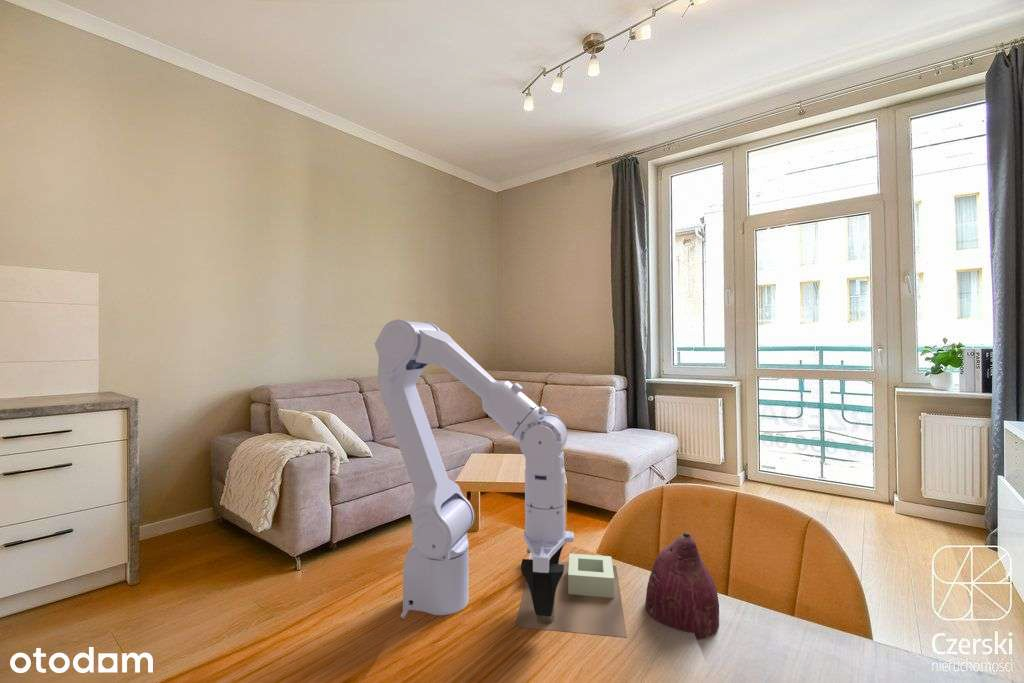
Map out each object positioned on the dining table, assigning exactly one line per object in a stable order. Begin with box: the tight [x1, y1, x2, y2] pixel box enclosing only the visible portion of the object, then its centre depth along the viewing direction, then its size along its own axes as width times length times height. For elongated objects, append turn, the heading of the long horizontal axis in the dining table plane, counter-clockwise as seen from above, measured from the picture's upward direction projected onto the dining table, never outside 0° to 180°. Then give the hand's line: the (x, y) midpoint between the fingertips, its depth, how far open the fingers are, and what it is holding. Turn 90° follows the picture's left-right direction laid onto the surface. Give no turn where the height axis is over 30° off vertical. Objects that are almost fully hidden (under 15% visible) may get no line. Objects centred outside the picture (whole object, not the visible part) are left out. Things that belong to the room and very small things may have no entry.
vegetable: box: [645, 531, 720, 641], centre depth 63 cm, size 10×10×15 cm
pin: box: [536, 598, 555, 624], centre depth 62 cm, size 3×3×7 cm
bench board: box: [514, 545, 628, 639], centre depth 69 cm, size 16×19×4 cm
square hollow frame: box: [568, 553, 614, 598], centre depth 71 cm, size 7×7×3 cm
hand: (545, 597), depth 62 cm, fingers open, 7 cm apart
